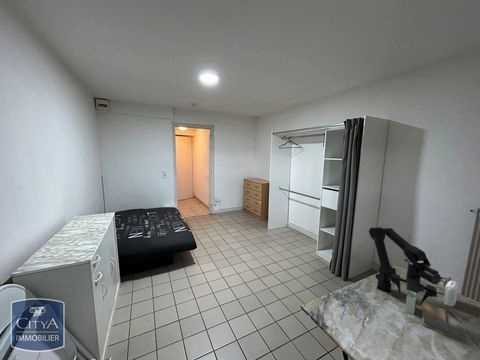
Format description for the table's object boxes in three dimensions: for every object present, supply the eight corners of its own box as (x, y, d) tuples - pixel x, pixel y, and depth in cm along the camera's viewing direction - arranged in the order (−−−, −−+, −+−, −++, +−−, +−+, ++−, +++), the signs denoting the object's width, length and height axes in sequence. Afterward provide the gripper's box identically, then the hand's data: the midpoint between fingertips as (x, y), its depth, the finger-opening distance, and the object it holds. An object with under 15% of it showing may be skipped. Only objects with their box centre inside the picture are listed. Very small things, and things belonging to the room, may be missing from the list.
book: (405, 311, 106) (407, 296, 105) (405, 302, 112) (407, 288, 110) (413, 314, 103) (415, 299, 102) (414, 306, 109) (415, 291, 108)
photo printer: (446, 296, 117) (449, 277, 115) (457, 300, 113) (460, 281, 111) (442, 303, 111) (445, 283, 109) (453, 308, 107) (456, 288, 106)
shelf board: (422, 325, 97) (422, 323, 97) (421, 302, 111) (422, 301, 111) (448, 336, 91) (448, 334, 91) (444, 311, 105) (444, 309, 105)
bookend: (423, 322, 97) (424, 315, 96) (423, 321, 98) (424, 314, 97) (446, 332, 91) (448, 325, 91) (446, 331, 92) (447, 324, 92)
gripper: (390, 271, 105) (388, 297, 107) (439, 287, 92) (435, 316, 95) (392, 263, 113) (390, 287, 115) (438, 276, 101) (434, 303, 103)
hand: (410, 298), depth 107 cm, fingers open, 9 cm apart
